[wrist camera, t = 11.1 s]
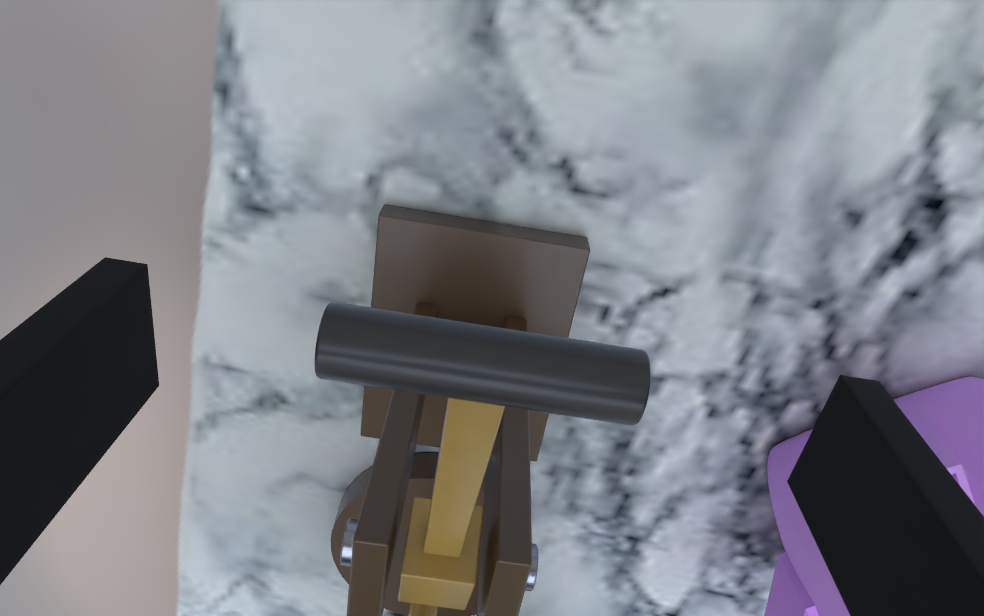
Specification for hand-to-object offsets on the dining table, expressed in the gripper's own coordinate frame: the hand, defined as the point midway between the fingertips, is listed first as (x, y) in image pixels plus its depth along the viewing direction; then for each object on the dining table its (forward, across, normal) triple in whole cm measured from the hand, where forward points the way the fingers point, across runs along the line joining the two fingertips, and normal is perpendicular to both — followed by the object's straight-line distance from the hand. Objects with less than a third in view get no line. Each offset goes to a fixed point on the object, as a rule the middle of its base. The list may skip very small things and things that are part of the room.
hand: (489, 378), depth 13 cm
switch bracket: (+17, 0, -10) cm, 20 cm away
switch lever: (+3, 0, -4) cm, 5 cm away
